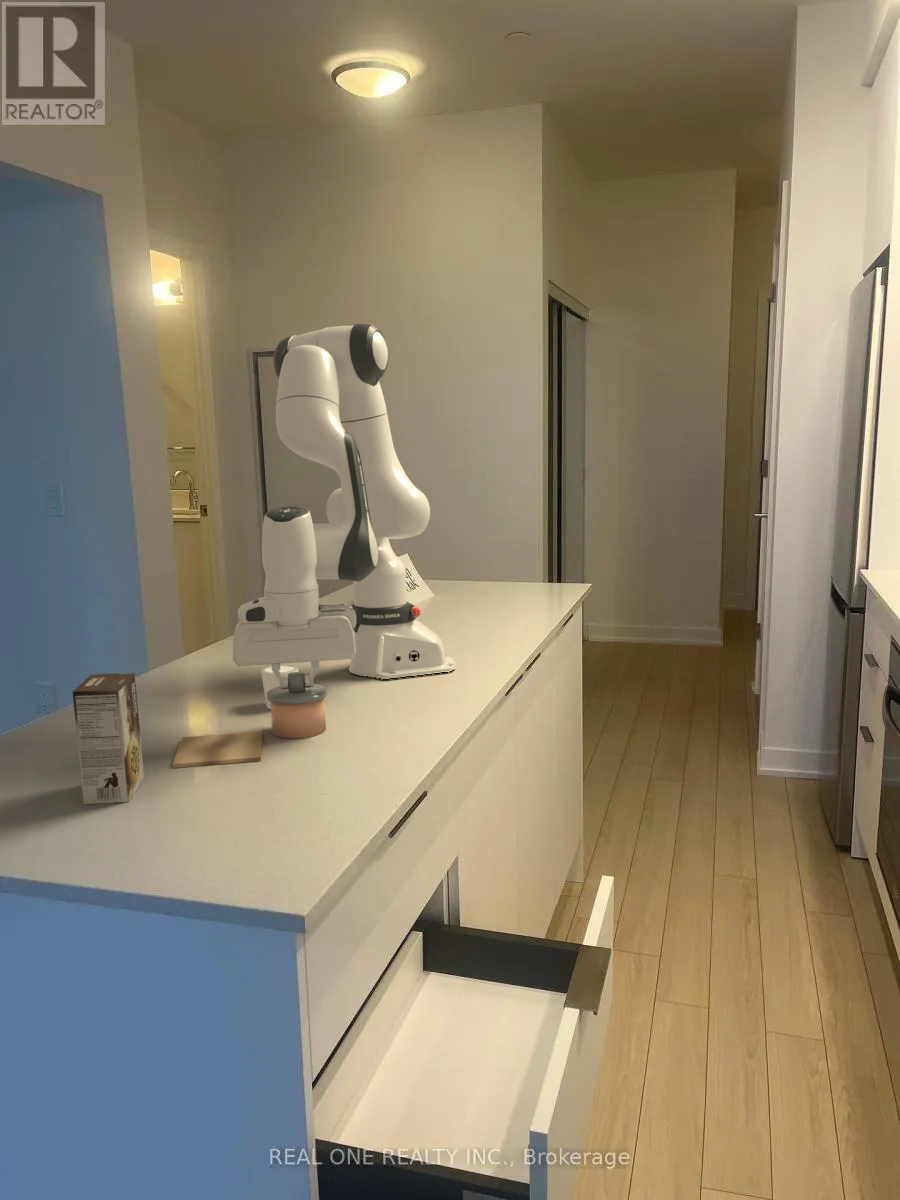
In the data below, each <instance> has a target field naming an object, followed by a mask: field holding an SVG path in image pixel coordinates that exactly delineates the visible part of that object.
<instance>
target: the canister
mask: <svg viewBox="0 0 900 1200" xmlns="http://www.w3.org/2000/svg"><path fill="white" fill-rule="evenodd" d="M325 699H326V697H325V698H323V699H321V700H318V701H314V702H310V703H303V704H278V703H273V702H270V705H271V709H270V718H271V719H270V720H271V733H272V735H273V736H275V737H277V738H281V739H289V740H290V739H291V740H296V739H298V740H299V739H306V738H307V739H308V738H311V737H315V736H319V735H321V734H323V733H324V732H325V731H326V730H327V725H326V724H327V722H326V718H327V717H326V704H325V703H326V701H325Z"/></svg>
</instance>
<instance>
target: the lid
mask: <svg viewBox="0 0 900 1200" xmlns="http://www.w3.org/2000/svg"><path fill="white" fill-rule="evenodd" d="M305 676H306V674H305V672H304V671H298V672H291V673H288V687H289V689H283V690H280V686H279V687H275V688H273V689H270V690H269V691H268V692H267V699H268V700H269V701H270V702H273V703H278V704H303V703H310V702H314V701H318V700H321V699H323V698H325V699H326V697H327V696H328V687H326V686H324V685H322V684H317V683H314V687H311V688H305Z"/></svg>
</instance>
